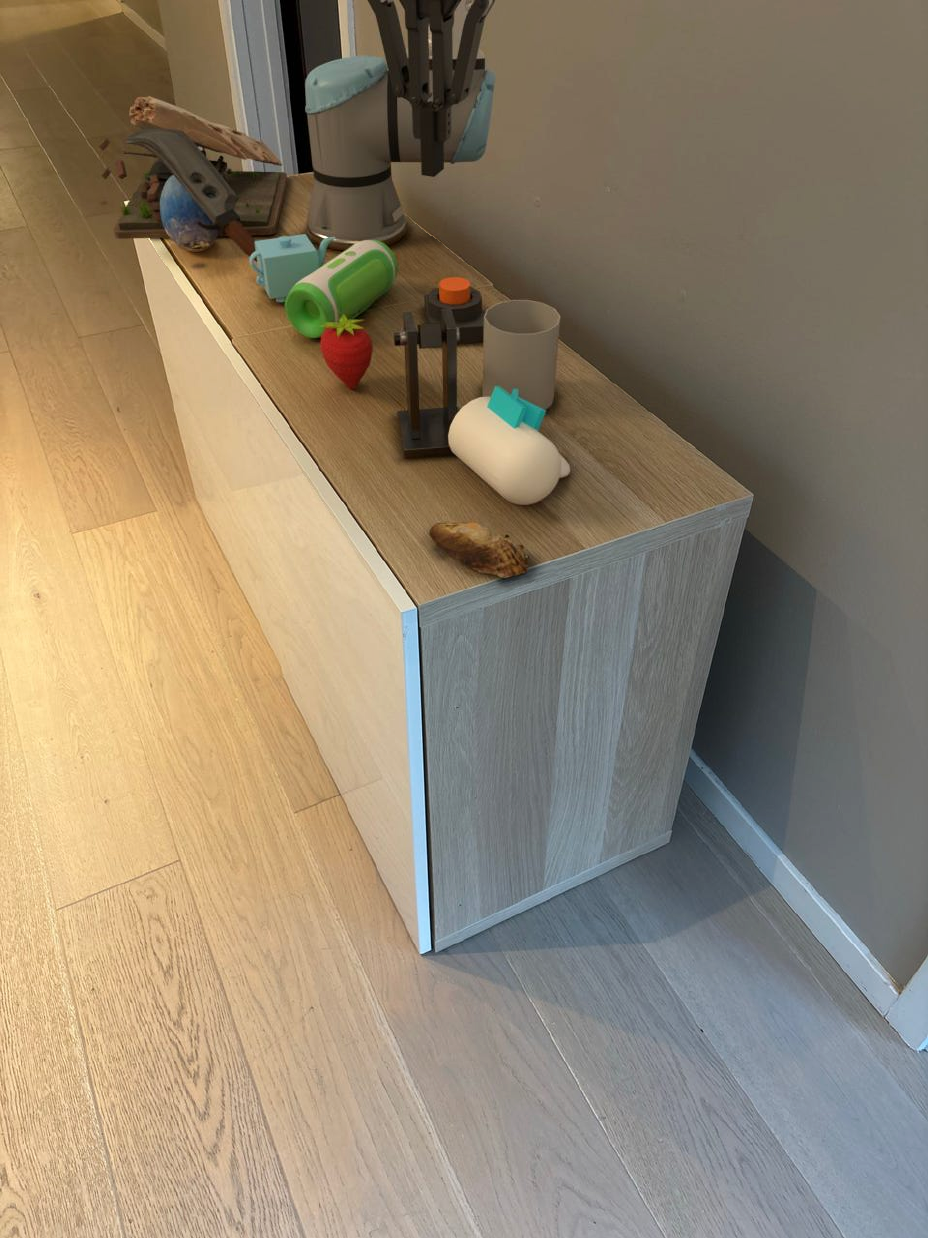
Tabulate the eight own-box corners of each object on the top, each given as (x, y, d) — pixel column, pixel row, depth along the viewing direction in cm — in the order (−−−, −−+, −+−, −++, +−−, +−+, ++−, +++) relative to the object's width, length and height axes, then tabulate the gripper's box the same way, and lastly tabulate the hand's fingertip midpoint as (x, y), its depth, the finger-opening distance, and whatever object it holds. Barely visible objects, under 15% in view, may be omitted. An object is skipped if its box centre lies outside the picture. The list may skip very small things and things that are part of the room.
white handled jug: (539, 430, 85) (468, 375, 93) (504, 516, 90) (439, 456, 97) (624, 439, 93) (552, 387, 100) (587, 518, 97) (521, 462, 105)
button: (437, 293, 121) (437, 277, 120) (467, 291, 122) (468, 276, 120) (441, 306, 118) (441, 291, 117) (472, 304, 119) (472, 289, 117)
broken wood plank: (268, 173, 164) (274, 142, 162) (307, 185, 157) (314, 153, 155) (113, 121, 144) (118, 86, 142) (150, 133, 136) (156, 96, 135)
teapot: (333, 275, 133) (328, 222, 128) (345, 293, 129) (340, 238, 124) (250, 288, 130) (241, 234, 125) (260, 307, 126) (251, 251, 120)
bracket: (397, 419, 106) (391, 303, 96) (458, 415, 107) (458, 299, 97) (404, 459, 100) (398, 340, 91) (468, 454, 101) (469, 335, 91)
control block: (424, 309, 126) (423, 281, 123) (475, 306, 126) (475, 278, 124) (432, 345, 119) (432, 315, 116) (487, 341, 119) (487, 311, 117)
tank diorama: (288, 178, 161) (279, 110, 154) (275, 234, 143) (264, 161, 136) (125, 182, 160) (108, 114, 153) (91, 240, 143) (70, 166, 135)
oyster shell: (476, 492, 91) (541, 547, 86) (469, 523, 93) (533, 579, 88) (427, 504, 88) (492, 562, 82) (421, 536, 90) (484, 595, 85)
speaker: (358, 283, 132) (353, 230, 126) (402, 294, 129) (400, 240, 124) (285, 335, 120) (277, 279, 115) (332, 348, 118) (326, 291, 113)
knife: (249, 291, 128) (118, 132, 131) (249, 301, 130) (120, 144, 133) (300, 265, 132) (172, 109, 134) (299, 274, 134) (172, 121, 136)
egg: (242, 264, 138) (225, 177, 141) (201, 238, 130) (184, 147, 133) (198, 290, 141) (183, 204, 144) (156, 266, 134) (140, 176, 137)
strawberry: (333, 408, 108) (324, 327, 101) (319, 377, 113) (309, 297, 106) (382, 399, 109) (377, 318, 102) (366, 369, 114) (360, 290, 107)
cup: (548, 419, 106) (554, 338, 99) (477, 411, 107) (478, 330, 100) (557, 382, 112) (564, 303, 105) (490, 375, 113) (492, 296, 106)
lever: (394, 350, 107) (393, 328, 107) (446, 347, 108) (445, 325, 107) (402, 349, 94) (400, 324, 93) (461, 346, 94) (459, 321, 94)
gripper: (344, -102, 83) (363, 175, 100) (479, -94, 80) (476, 191, 96) (380, -112, 88) (392, 153, 105) (509, -105, 85) (501, 168, 101)
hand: (432, 171), depth 100 cm, fingers closed
